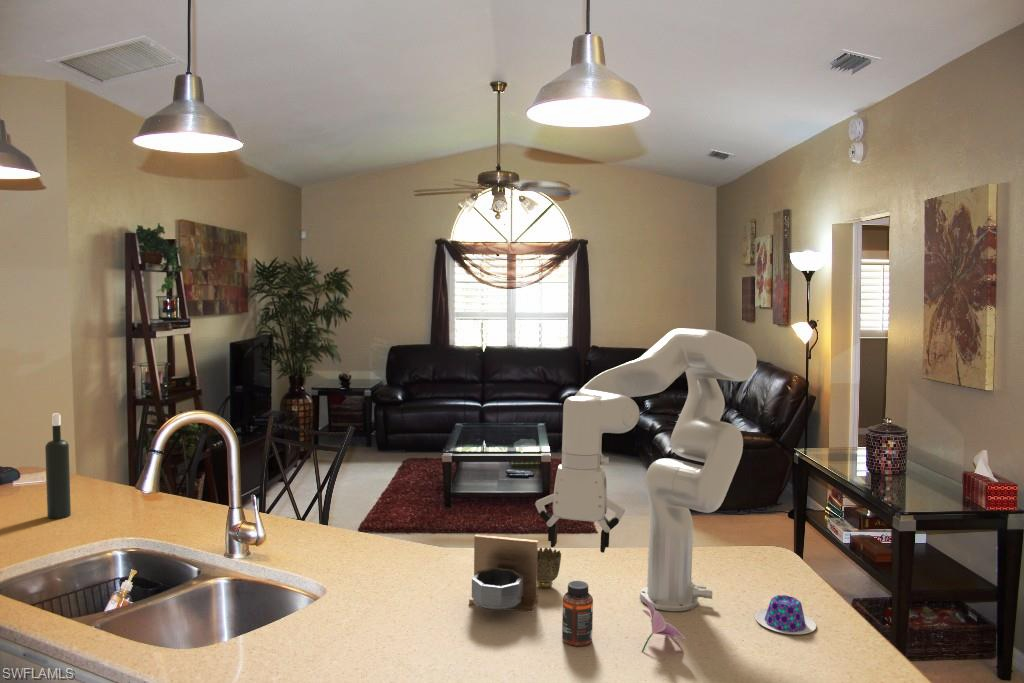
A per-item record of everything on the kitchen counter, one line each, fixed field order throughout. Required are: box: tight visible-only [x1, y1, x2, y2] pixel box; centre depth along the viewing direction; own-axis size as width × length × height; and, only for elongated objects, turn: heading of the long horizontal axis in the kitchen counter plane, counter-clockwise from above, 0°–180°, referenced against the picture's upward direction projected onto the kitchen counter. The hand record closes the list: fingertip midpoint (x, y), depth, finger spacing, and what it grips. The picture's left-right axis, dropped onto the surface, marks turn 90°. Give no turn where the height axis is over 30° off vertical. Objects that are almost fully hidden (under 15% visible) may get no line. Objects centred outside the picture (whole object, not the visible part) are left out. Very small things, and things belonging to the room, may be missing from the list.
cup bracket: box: [468, 534, 539, 613], centre depth 160 cm, size 14×14×14 cm
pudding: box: [754, 594, 817, 635], centre depth 157 cm, size 12×12×5 cm
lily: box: [639, 593, 687, 653], centre depth 145 cm, size 12×12×10 cm
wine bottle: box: [44, 412, 72, 520], centre depth 217 cm, size 6×6×30 cm
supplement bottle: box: [561, 580, 594, 647], centre depth 147 cm, size 6×6×11 cm
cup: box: [537, 547, 562, 590], centre depth 173 cm, size 8×7×8 cm
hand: (578, 547), depth 146 cm, fingers open, 9 cm apart
